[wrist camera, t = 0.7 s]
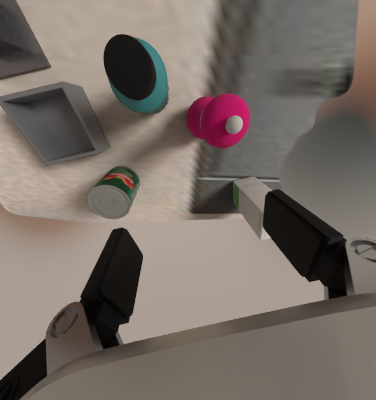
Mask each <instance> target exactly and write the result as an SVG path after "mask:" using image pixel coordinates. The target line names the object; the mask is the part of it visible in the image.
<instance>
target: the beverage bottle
mask: <svg viewBox="0 0 376 400" xmlns="http://www.w3.org/2000/svg"><path fill="white" fill-rule="evenodd" d="M104 67H105V70H106V73H107V76H108V79H109V83H110V85H111V88H112V90H113V92H114V94H115V96H116V97H117V98H118V100H119V101H120V102H121V103H122V104H123V105H124V106H126V107H127V108H129V109H130V110H132V111H135V112H139V113H146V114H147V113H148V114H149V113H153V114H154V113H157V112H160V111H161V110H163V109H164V107H165V106H166V104H167V103H168V102H167V101H168V98H169V97H168V89H169V88H168V87H167V73H166V69H165V66H164V63H163V61H162V59H161V57H160V55H159V54H158V52H157V51H156V50H155V49H154V48H153V47H152V46H151V45H150V44H149V43H147V42H146V41H144V40H141V39H139V38H134V37H132V36H129V35H124V34H120V35H116V36H114V37H112V38H111V39H110V40H109V42H108V43H107V45H106V47H105V51H104Z"/></svg>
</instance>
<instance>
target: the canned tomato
mask: <svg viewBox="0 0 376 400" xmlns="http://www.w3.org/2000/svg"><path fill="white" fill-rule="evenodd" d="M139 185H140V180H139V177H138V175H137V174H136V173H135V172H134V171H133V170H132V169H130V168H128V167H124V166H118V167H115V168H113V169H111V170H110V172H109V173H108V174H107V175H106V176H105V177H104V178H103V179H101V180H100V182H98V184H96V185H95V186H94V188H92V189H91V190H90V191H89V193H88V195H87V203H88V205H89V207H90V208H91V210H92V211H93V212H95V213H96V214H97V215H99V216H101V217H104V218H108V219H118V218H122V217H124V216H125V215H126V214H127V213H128V212H129V210H130V207H131V205H132V202H133V200H134V198H135V195H136V193H137V190H138V188H139Z"/></svg>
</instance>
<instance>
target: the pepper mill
mask: <svg viewBox="0 0 376 400" xmlns="http://www.w3.org/2000/svg"><path fill="white" fill-rule="evenodd" d="M249 122H250V115H249V109H248V107H247V105H246V103H245V101H244V100H243V99H242V98H240V97H239V96H237V95H234V94H222V95H219V96H217V97H215V98H212V97H201V98H199V99H197V100H196V101H194V102H193V104H192V105H191V106H190V108H189V110H188V114H187V125H188V128H189V130H190V132H191V133H192V134H193V135H194V136H195V137H197V138H200V139H205V140H206V141H207V142H208V143H209V144H210V145H212V146H214V147H217V148H227V147H230V146H233V145H235V144H236V143H238V142H239V141H240V140H241V139H242V138H243V136H244V135H245V133H246V132H247V129H248V126H249Z"/></svg>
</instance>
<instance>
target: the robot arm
mask: <svg viewBox="0 0 376 400" xmlns="http://www.w3.org/2000/svg"><path fill="white" fill-rule="evenodd" d="M263 228H264V230H265V231H266V232H267V234H268V235H269V236H270V237H271V239H272V240H273V241H274V242H275V244H276V245H277V246H278V247H279V249H280V250H281V251H282V252H283V254H284V255H285V256H286V258H287V259H288V260H289V261H290V262H291V264H292V265H293V266H294V268H295V269H296V270H297V271H298V273H299V274H300V275H301V276H303V277H305V278H306V279H307V280H308V281H309V282H311V281H316V280H320V281H321V283H322V284H323V285H324V295H325V300H323V301H318V302H313V303H308V304H304V305H299V306H294V307H289V308H285V309H280V310H276V311H271V312H266V313H261V314H257V315H252V316H248V317H243V318H239V319H234V320H229V321H225V322H220V323H216V324H211V325H207V326H203V327H198V328H193V329H189V330H185V331H180V332H175V333H171V334H167V335H162V336H158V337H153V338H149V339H145V340H140V341H135V342H131V343H128V344H123V342H122V340H121V337H120V335H119V333H118V328H119V325H120V324H125V323H128V322H129V318H130V316H131V315H132V313H133V309H134V304H135V298H136V292H137V287H138V282H139V276H140V271H141V266H142V260H143V254H142V253H141V251H140V250H139V248H138V246H137V245H136V243H135V241H134V240H133V238H132V237H131V235H130V234H129V232H128V230H127V229H124V228H118V229H114V230H113V231H112V232H111V234H110V236H109V239H108V240H107V243H106V245H105V247H104V249H103V251H102V253H101V255H100V257H99V259H98V261H97V263H96V265H95V267H94V269H93V271H92V273H91V275H90V278H89V280H88V282H87V284H86V286H85V288H84V290H83V292H82V294H81V296H80V297H81V300H80V302H73V303H71V304H68V305H67V306H65V307H64V308H63V309H62V310H61V311H60V312H59V313H58V314H57V315H56V316H55V317H54V318H53V320H52V321H51V323H50V325H49V327H48V329H47V331H46V338H45V339H44V340H43V341H42V342H41V343H40V344H39V345H38V346H37V347H36V348H35V349H34V350H32V351H31V352H30V353H29V354H28V355H27V356H26V357H25V358H24V359H23V360H22V361H21V362H19V363H18V364H17V365H16V366H15V367H14V368H13V369H12V370H11V371H10V372H9V373H8V374H7V375H5V376H4V377H3V378H2V379H1V380H0V400H376V241H375V240H371V239H368V238H361V237H353V238H350V239H348V240H346V239H345V238H343V235H342V234H341V233H339V232H338V231H336V230H335V229H334V228H332V227H331V226H329V225H328V224H327V223H325V222H324V221H322V220H321V219H320V218H318V217H317V216H316V215H314V214H313V213H311V212H310V211H308V210H307V209H306V208H304V207H303V206H301V205H300V204H299V203H297V202H296V201H295V200H293V199H292V198H290V197H289V196H288V195H286V194H285V193H283V192H282V191H281V190H279V189H277V190H273V191H269V192H268V193H267V194H266V195H265V203H264V214H263Z"/></svg>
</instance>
